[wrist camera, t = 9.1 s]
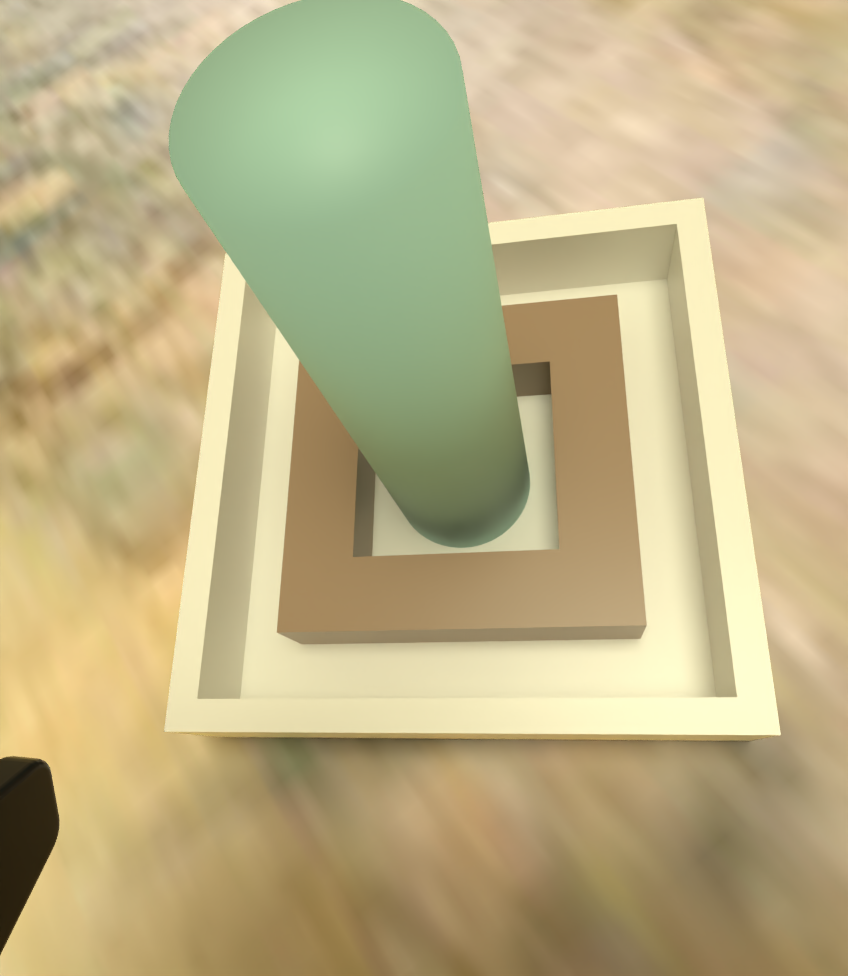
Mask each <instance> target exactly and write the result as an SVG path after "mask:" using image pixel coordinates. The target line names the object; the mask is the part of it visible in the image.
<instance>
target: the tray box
mask: <svg viewBox="0 0 848 976" xmlns="http://www.w3.org/2000/svg"><path fill="white" fill-rule="evenodd" d="M488 227H489V233H490V239H491V245H492V251H493V257H494V263H495V269H496V275H497V281H498V287H499V293H500V299H501V305H502V311H503V317H504V323H505V329H506V335H507V341H508V347H509V353H510V359H511V365H512V371H513V377H514V383H515V389H516V395H517V401H518V407H519V413H520V419H521V425H522V431H523V437H524V443H525V449H526V455H527V461H528V467H529V473H530V491H529V496H528V500H527V503H526V505H525V508H524V510H523V511H522V513H521V515H520V517H519V518H518V519H517V521H516V522H515V523H514V524H513V525H512V526H511V527H510V528H509V529H508V530H507V531H506V532H505V533H503V534H502V535H501V536H499V537H497V538H496V539H494V540H492V541H490V542H487V543H485V544H482V545H479V546H474V547H466V548H455V547H448V546H443V545H440V544H437V543H434V542H432V541H430V540H428V539H427V538H425V537H424V536H422V535H421V534H419V533H418V532H417V531H416V530H415V529H414V528H413V527H412V525H411V524H410V523H409V522H408V520H407V519H406V517H405V516H404V514H403V513H402V511H401V510H400V508H399V507H398V505H397V504H396V502H395V501H394V500H393V498H392V497H391V495H390V494H389V492H388V491H387V489H386V488H385V486H384V485H383V483H382V482H381V480H380V479H379V477H378V476H377V474H376V473H375V471H374V470H373V468H372V467H371V466H370V464H369V463H368V461H367V460H366V458H365V457H364V455H363V454H362V452H361V451H360V449H359V448H358V446H357V445H356V443H355V442H354V440H353V439H352V437H351V436H350V434H349V433H348V431H347V430H346V429H345V427H344V426H343V424H342V423H341V421H340V420H339V418H338V417H337V415H336V414H335V412H334V411H333V409H332V408H331V406H330V405H329V403H328V402H327V400H326V399H325V397H324V396H323V395H322V393H321V392H320V390H319V389H318V387H317V386H316V384H315V383H314V381H313V380H312V378H311V377H310V375H309V374H308V372H307V371H306V369H305V368H304V366H303V365H302V363H301V362H300V361H299V359H298V358H297V356H296V355H295V353H294V352H293V350H292V349H291V347H290V346H289V344H288V343H287V341H286V340H285V338H284V337H283V335H282V334H281V332H280V331H279V329H278V328H277V327H276V325H275V324H274V322H273V321H272V319H271V318H270V316H269V315H268V313H267V312H266V310H265V309H264V307H263V306H262V304H261V303H260V301H259V300H258V298H257V297H256V295H255V294H254V293H253V291H252V290H251V288H250V287H249V285H248V284H247V282H246V281H245V279H244V278H243V276H242V275H241V273H240V272H239V270H238V269H237V267H236V266H235V264H234V263H233V261H232V260H231V258H230V257H229V256H228V254H225V261H224V269H223V277H222V285H221V293H220V300H219V308H218V316H217V324H216V332H215V339H214V347H213V355H212V363H211V370H210V378H209V386H208V394H207V402H206V409H205V417H204V425H203V433H202V441H201V448H200V456H199V464H198V472H197V479H196V487H195V495H194V503H193V511H192V518H191V526H190V534H189V542H188V549H187V557H186V565H185V573H184V581H183V588H182V596H181V604H180V612H179V620H178V627H177V635H176V643H175V651H174V658H173V666H172V674H171V682H170V690H169V697H168V705H167V713H166V721H165V728H164V732H172V733H182V734H192V735H202V736H212V737H258V738H400V739H541V740H683V741H753V740H758V739H763V738H769V737H774V736H779V735H781V733H780V726H779V719H778V712H777V705H776V698H775V691H774V685H773V678H772V671H771V664H770V657H769V650H768V643H767V636H766V629H765V622H764V615H763V608H762V601H761V595H760V588H759V581H758V574H757V567H756V560H755V553H754V546H753V539H752V532H751V525H750V518H749V511H748V505H747V498H746V491H745V484H744V477H743V470H742V463H741V456H740V449H739V442H738V435H737V428H736V421H735V414H734V408H733V401H732V394H731V387H730V380H729V373H728V366H727V359H726V352H725V345H724V338H723V331H722V324H721V318H720V311H719V304H718V297H717V290H716V283H715V276H714V269H713V262H712V255H711V248H710V241H709V234H708V228H707V221H706V214H705V207H704V200H703V198H696V199H688V200H679V201H671V202H662V203H654V204H645V205H637V206H628V207H620V208H611V209H603V210H594V211H586V212H577V213H569V214H560V215H551V216H543V217H534V218H526V219H517V220H509V221H500V222H492V223H488Z"/></svg>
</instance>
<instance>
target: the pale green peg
mask: <svg viewBox="0 0 848 976" xmlns="http://www.w3.org/2000/svg"><path fill="white" fill-rule="evenodd" d="M169 153H170V158H171V164H172V166H173V169H174V172H175V175H176V177H177V179H178V180H179V182H180V184H181V186H182V187H183V189H184V190H185V192H186V193H187V195H188V196H189V198H190V199H191V201H192V202H193V204H194V205H195V207H196V208H197V210H198V211H199V213H200V214H201V216H202V217H203V219H204V220H205V222H206V223H207V224H208V226H209V227H210V229H211V230H212V232H213V233H214V235H215V236H216V238H217V239H218V241H219V242H220V244H221V245H222V247H223V248H224V250H225V251H226V253H227V254H228V256H229V257H230V258H231V260H232V261H233V263H234V264H235V266H236V267H237V269H238V270H239V272H240V273H241V275H242V276H243V278H244V279H245V281H246V282H247V284H248V285H249V287H250V288H251V290H252V291H253V293H254V294H255V295H256V297H257V298H258V300H259V301H260V303H261V304H262V306H263V307H264V309H265V310H266V312H267V313H268V315H269V316H270V318H271V319H272V321H273V322H274V324H275V325H276V327H277V328H278V329H279V331H280V332H281V334H282V335H283V337H284V338H285V340H286V341H287V343H288V344H289V346H290V347H291V349H292V350H293V352H294V353H295V355H296V356H297V358H298V359H299V361H300V362H301V363H302V365H303V366H304V368H305V369H306V371H307V372H308V374H309V375H310V377H311V378H312V380H313V381H314V383H315V384H316V386H317V387H318V389H319V390H320V392H321V393H322V395H323V396H324V397H325V399H326V400H327V402H328V403H329V405H330V406H331V408H332V409H333V411H334V412H335V414H336V415H337V417H338V418H339V420H340V421H341V423H342V424H343V426H344V427H345V429H346V430H347V431H348V433H349V434H350V436H351V437H352V439H353V440H354V442H355V443H356V445H357V446H358V448H359V449H360V451H361V452H362V454H363V455H364V457H365V458H366V460H367V461H368V463H369V464H370V466H371V467H372V468H373V470H374V471H375V473H376V474H377V476H378V477H379V479H380V480H381V482H382V483H383V485H384V486H385V488H386V489H387V491H388V492H389V494H390V495H391V497H392V498H393V500H394V501H395V502H396V504H397V505H398V507H399V508H400V510H401V511H402V513H403V514H404V516H405V517H406V519H407V520H408V522H409V523H410V524H411V525H412V527H413V528H414V529H415V530H416V531H417V532H418V533H419V534H421V535H422V536H424V537H425V538H427V539H428V540H430V541H432V542H434V543H437V544H440V545H443V546H448V547H455V548H466V547H474V546H479V545H482V544H485V543H487V542H490V541H492V540H494V539H496V538H497V537H499V536H501V535H502V534H503V533H505V532H506V531H507V530H508V529H509V528H510V527H511V526H512V525H513V524H514V523H515V522H516V521H517V519H518V518H519V517H520V515H521V513H522V511H523V510H524V508H525V505H526V503H527V500H528V496H529V491H530V473H529V467H528V461H527V455H526V449H525V443H524V437H523V431H522V425H521V419H520V413H519V407H518V401H517V395H516V389H515V383H514V377H513V371H512V365H511V359H510V353H509V347H508V341H507V335H506V329H505V323H504V317H503V311H502V305H501V299H500V293H499V287H498V281H497V275H496V269H495V263H494V257H493V251H492V245H491V239H490V233H489V227H488V221H487V215H486V209H485V203H484V197H483V191H482V185H481V179H480V173H479V167H478V161H477V155H476V149H475V143H474V137H473V131H472V125H471V119H470V113H469V107H468V101H467V95H466V89H465V83H464V77H463V71H462V66H461V61H460V56H459V54H458V52H457V49H456V47H455V44H454V42H453V41H452V39H451V38H450V36H449V35H448V33H447V31H446V30H445V29H444V28H443V27H442V26H441V25H440V24H439V23H438V22H437V21H436V20H435V19H434V18H432V17H431V16H430V15H428V14H427V13H426V12H425V11H423V10H421V9H419V8H417V7H415V6H413V5H412V4H409V3H407V2H404V1H401V0H301V1H297V2H294V3H291V4H288V5H285V6H283V7H280V8H278V9H275V10H273V11H271V12H269V13H267V14H265V15H263V16H261V17H258V18H257V19H255V20H253V21H252V22H250V23H248V24H247V25H245V26H243V27H242V28H240V29H239V30H238V31H236V32H235V33H233V34H232V35H231V36H229V37H228V38H227V39H225V40H224V41H223V42H222V43H221V44H220V45H219V46H217V47H216V48H215V49H214V50H213V51H212V52H211V53H210V54H209V55H208V56H207V57H206V58H205V59H204V60H203V62H202V63H201V64H200V65H199V66H198V68H197V69H196V70H195V72H194V73H193V74H192V76H191V77H190V79H189V80H188V82H187V84H186V85H185V87H184V88H183V90H182V92H181V94H180V97H179V99H178V101H177V103H176V106H175V109H174V112H173V115H172V119H171V124H170V130H169Z"/></svg>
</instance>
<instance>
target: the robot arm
mask: <svg viewBox="0 0 848 976" xmlns="http://www.w3.org/2000/svg"><path fill="white" fill-rule="evenodd" d="M58 831H59V814H58V809H57V803H56V797H55V792H54V786H53V780H52V775H51V770H50V767H49V766H48V764H47V763H46V762H45V761H43V760H41V759H36V758H26V757H16V756H12V757H5V758H2V759H0V954H1V952H2V950H3V948H4V946H5V944H6V942H7V940H8V938H9V936H10V934H11V932H12V930H13V928H14V926H15V924H16V922H17V920H18V918H19V916H20V914H21V912H22V910H23V908H24V906H25V904H26V902H27V900H28V898H29V896H30V894H31V892H32V890H33V888H34V886H35V884H36V882H37V880H38V878H39V876H40V874H41V872H42V869H43V867H44V865H45V863H46V861H47V859H48V857H49V855H50V853H51V851H52V849H53V847H54V845H55V842H56V839H57V836H58Z"/></svg>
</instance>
